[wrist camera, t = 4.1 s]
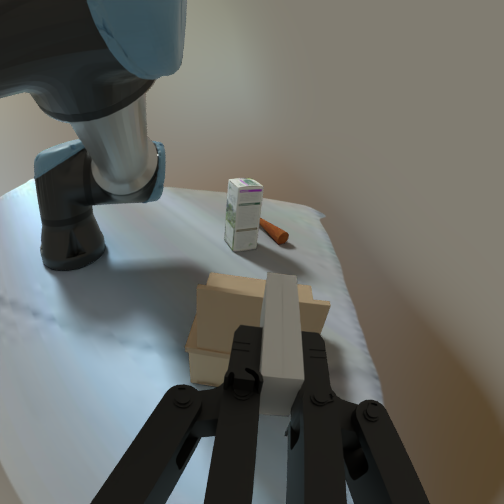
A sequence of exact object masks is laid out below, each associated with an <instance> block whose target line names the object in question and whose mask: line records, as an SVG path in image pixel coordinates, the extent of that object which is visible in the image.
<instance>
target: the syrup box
mask: <svg viewBox="0 0 504 504" xmlns="http://www.w3.org/2000/svg"><path fill="white" fill-rule="evenodd" d="M263 188H264V187H263V186H262V185H260V184H259V183H258V182H256V181H255V180H253V179H251V178H236V179H229V183H228V195H227V209H226V223H225V239H224V240H225V241H226V243H227V244H228V245H229V247H230V248H231V249H232V251H234V252H235V251H245V250H252V249H256V247H257V239H258V231H259V222H260V214H261V205H262V197H263Z"/></svg>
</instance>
